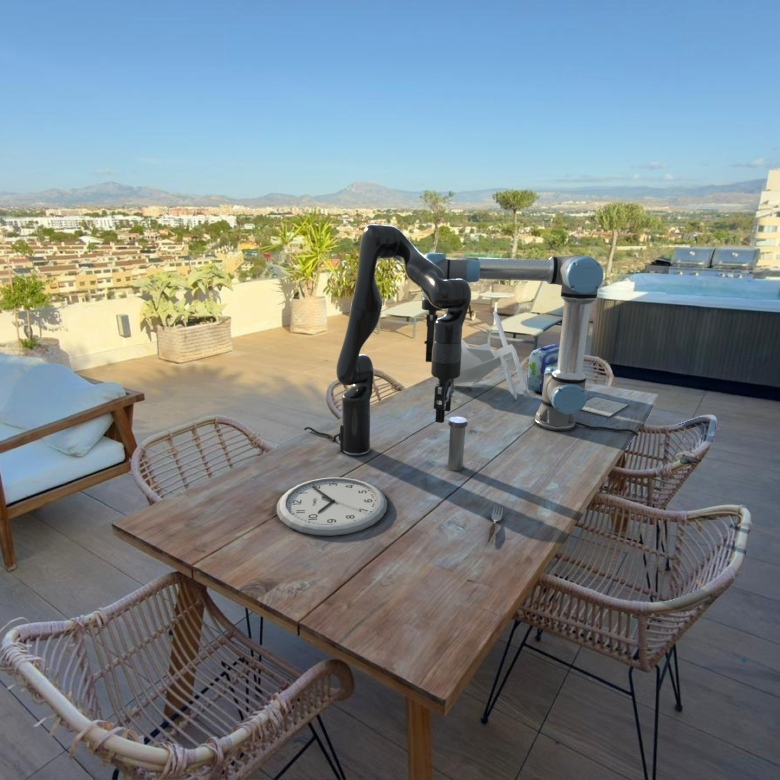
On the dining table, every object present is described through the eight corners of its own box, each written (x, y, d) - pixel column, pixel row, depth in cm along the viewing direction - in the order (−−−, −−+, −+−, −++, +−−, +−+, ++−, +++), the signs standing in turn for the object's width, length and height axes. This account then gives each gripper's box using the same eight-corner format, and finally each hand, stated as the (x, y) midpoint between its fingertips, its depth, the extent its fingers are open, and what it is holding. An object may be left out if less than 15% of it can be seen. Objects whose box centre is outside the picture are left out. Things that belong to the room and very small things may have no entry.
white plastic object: (461, 429, 252) (437, 405, 227) (444, 352, 274) (420, 323, 250) (535, 404, 240) (518, 377, 215) (510, 326, 262) (492, 293, 237)
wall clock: (392, 527, 129) (268, 531, 127) (391, 533, 130) (269, 537, 127) (383, 473, 158) (282, 475, 155) (383, 478, 158) (282, 480, 156)
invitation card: (608, 416, 214) (573, 407, 224) (608, 416, 214) (573, 408, 224) (628, 404, 229) (594, 396, 238) (628, 405, 229) (594, 397, 238)
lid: (469, 428, 160) (469, 422, 159) (450, 428, 159) (450, 423, 159) (464, 421, 165) (465, 416, 165) (446, 421, 165) (447, 416, 164)
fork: (482, 542, 127) (483, 535, 126) (493, 511, 141) (494, 504, 140) (493, 545, 126) (494, 538, 125) (503, 513, 140) (503, 506, 140)
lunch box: (543, 396, 238) (548, 352, 231) (522, 391, 245) (526, 347, 239) (570, 385, 255) (575, 343, 249) (550, 381, 262) (555, 340, 256)
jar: (464, 470, 165) (467, 423, 160) (449, 471, 164) (452, 423, 159) (460, 464, 169) (463, 418, 164) (446, 464, 169) (449, 418, 164)
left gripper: (438, 349, 142) (435, 405, 147) (425, 363, 129) (423, 424, 134) (465, 352, 140) (461, 409, 145) (455, 366, 127) (451, 428, 132)
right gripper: (424, 293, 195) (422, 349, 202) (419, 302, 172) (417, 365, 178) (444, 294, 195) (441, 350, 201) (442, 303, 171) (439, 366, 177)
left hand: (443, 416), depth 140 cm, fingers open, 8 cm apart
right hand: (430, 357), depth 190 cm, fingers open, 13 cm apart
